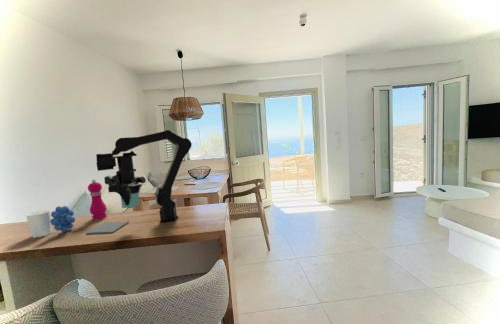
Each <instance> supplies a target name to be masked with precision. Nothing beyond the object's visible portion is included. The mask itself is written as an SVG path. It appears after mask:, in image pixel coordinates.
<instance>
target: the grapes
mask: <svg viewBox="0 0 500 324" xmlns="http://www.w3.org/2000/svg"><path fill="white" fill-rule="evenodd" d="M50 216H51V221H50V223H51V225H53V228H54V231H61V233H66V232H68V230H71V229H73V227H74V224H73V223H74V222H76V217H74V210H71V209H70V208H69V207H68V206H66V205H63V206H60V205H59V206H56V207H55V210H53V211H52V212H50Z"/></svg>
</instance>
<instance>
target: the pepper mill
mask: <svg viewBox="0 0 500 324" xmlns="http://www.w3.org/2000/svg"><path fill="white" fill-rule="evenodd" d="M102 188H103V186H102V184H101V183H100V182H97V180H96V179H92V180H91V182H90V183H89V185H88V186H87V191H88V192H89V196H90V197H91V204H90V207H89V213H90V214H91V215H92V216H91V218H92V220H93V221H100V220H103V219H106V218H107V217H108V216H107V213H106V212H107V205H106V203H105V202H104V201H103V198H102V194H103V193H102V191H101V190H102Z"/></svg>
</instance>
